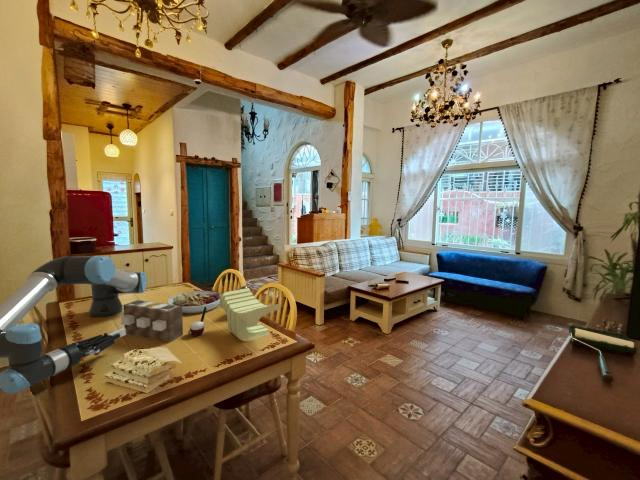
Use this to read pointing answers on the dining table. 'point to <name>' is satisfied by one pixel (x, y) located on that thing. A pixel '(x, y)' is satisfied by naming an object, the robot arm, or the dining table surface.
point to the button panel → (155, 312)
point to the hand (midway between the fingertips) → (124, 331)
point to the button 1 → (128, 319)
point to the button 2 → (159, 325)
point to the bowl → (195, 301)
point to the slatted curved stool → (245, 314)
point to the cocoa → (197, 326)
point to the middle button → (143, 322)
